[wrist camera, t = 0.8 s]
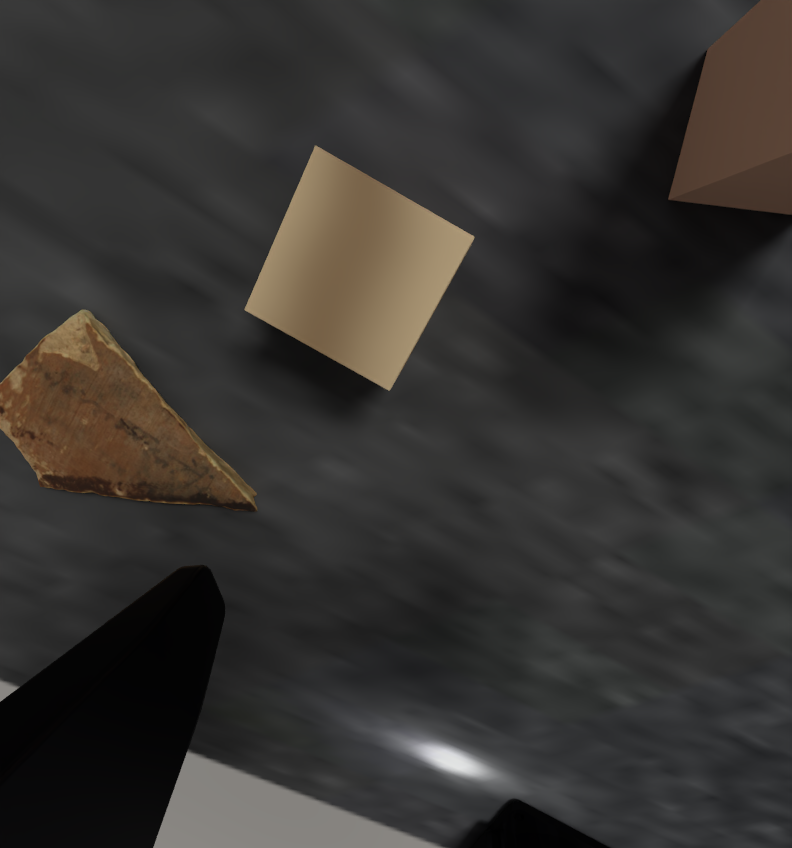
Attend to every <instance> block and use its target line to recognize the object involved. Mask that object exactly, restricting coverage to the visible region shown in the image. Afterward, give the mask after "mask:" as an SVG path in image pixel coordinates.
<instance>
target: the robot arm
mask: <svg viewBox="0 0 792 848" xmlns="http://www.w3.org/2000/svg"><path fill="white" fill-rule="evenodd" d="M224 617H225V604H224V600H223V598H222V595H221V593H220V591H219V588H218V586H217V583H216V581H215V579H214V576H213V574H212V572H211V570H210V569H209V568H208V567H207V566H204V565H196V566H184V567H181V568H179V569H177V570H176V571H175V572H173V573H172V574H170V575H169V576H168V577H166V578H165V579H164V580H162V581H161V582H160V583H158V584H157V585H156V586H154V587H153V588H152V589H150V590H149V591H148V592H146V593H145V594H144V595H142V596H141V597H140V598H138V599H137V600H136V601H134V602H133V603H132V604H130V605H129V606H128V607H126V608H125V609H124V610H122V611H121V612H120V613H118V614H117V615H116V616H114V617H113V618H112V619H110V620H109V621H108V622H106V623H105V624H104V625H102V626H101V627H100V628H98V629H97V630H96V631H94V632H93V633H92V634H90V635H89V636H88V637H86V638H85V639H84V640H82V641H81V642H80V643H78V644H77V645H76V646H74V647H73V648H72V649H70V650H69V651H68V652H66V653H65V654H64V655H62V656H61V657H60V658H58V659H57V660H56V661H54V662H53V663H52V664H50V665H49V666H48V667H46V668H45V669H44V670H42V671H41V672H40V673H38V674H37V675H36V676H34V677H33V678H32V679H30V680H29V681H28V682H26V683H25V684H24V685H22V686H21V687H19V688H18V689H17V690H15V691H14V692H13V693H11V694H10V695H9V696H7V697H6V698H5V699H3V700H2V701H1V702H0V848H153V846H154V843H155V841H156V838H157V835H158V832H159V829H160V826H161V823H162V821H163V817H164V815H165V812H166V809H167V807H168V804H169V801H170V798H171V795H172V793H173V790H174V787H175V784H176V781H177V778H178V776H179V773H180V770H181V767H182V764H183V761H184V758H185V756H186V753H187V750H188V747H189V745H190V742H191V739H192V736H193V733H194V730H195V727H196V724H197V721H198V718H199V715H200V712H201V709H202V705H203V701H204V698H205V694H206V690H207V686H208V682H209V678H210V674H211V670H212V666H213V662H214V658H215V654H216V650H217V646H218V642H219V638H220V634H221V629H222V625H223V621H224ZM471 848H608V847H606V846H604V845H602V844H600V843H598V842H596V841H594V840H593V839H591V838H589V837H587V836H585V835H583V834H581V833H579V832H577V831H576V830H574V829H572V828H570V827H568V826H566V825H564V824H562V823H560V822H559V821H557V820H555V819H553V818H551V817H549V816H547V815H545V814H543V813H542V812H540V811H538V810H536V809H534V808H532V807H530V806H528V805H526V804H525V803H522V802H512V803H511V804H509V806H508V807H507V808H506V809H505V810H504V811H503V812H502V813H501V815H500V816H499V817H498V818H497V819H496V820H495V821H494V823H493V824H492V825H491V826H490V827H489V828H488V829H487V831H486V832H485V833H484V834H483V835H482V836H481V837H480V838H479V839H478V841H477V842H476V843H475V844H474V845H473V846H472V847H471Z"/></svg>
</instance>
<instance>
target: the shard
mask: <svg viewBox="0 0 792 848" xmlns="http://www.w3.org/2000/svg"><path fill="white" fill-rule="evenodd" d="M0 429H1V430H2V431H4V433H5V434H6V435H7V436H8V437H9V438H10V439H11V440H12V441H13V442H14V443H15V445H16V447H17V448H18V449H19V450H20V451H21V453H22V454H23V456H24V458H25V459H26V460H27V461H28V462H29V463H30V465H31V467H32V469H33V470H34V471H35V472H36V473H37V477H38V481H39V484H40V487H46V488H53V489H57V490H60V489H64V490H67V491H70V492H79V493H87V492H94V493H97V494H99V495H102V496H111V497H121V498H127V499H132V500H138V501H151V502H162V503H175V504H206V505H214V506H220V507H226V508H229V509H233V510H246V511H253V512H254V511H257V507H256V505H255V501H254V498H253V497H254V496H256V495H257V493H256V492H255V491H254V490H253V489H252V488H251V487H250V486H248V485H247V484H246V483H245V482H244V480H243V479H242V478H241V477H240V476H239V475H238V474H237V473H236V472H235V471H234V470H233V469H232V468H231V467H230V466H229V465H228V464H227V463H226V462H225V461H224V460H222V459H221V458H220V457H219V456H217V455H216V454H215V453H214V451H212V450H211V449H210V448H209V447H208V446H207V445H206V444H205V443H204V442H203V441H202V440H201V439H200V438H199V437H198V436H197V435H196V433H195V432H194V431H193V430H192V429H191V428H190V427H188V426H187V424H186V422H185V421H184V420H183V419H182V418H181V417H180V416H179V415H178V414H177V413H176V412H175V411H174V410H173V409H172V408H171V407H170V406H169V405H168V404H167V403H166V402H165V401H164V399H163V398H162V397H161V395H160V394H159V393H158V392H157V391H156V389H155V388H154V387H153V386H152V385H151V383H150V382H149V381H148V380H147V379H146V378H145V377H144V376H143V375H142V373H141V372H140V371H139V369H138V368H137V366H136V364H135V362H134V361H133V360H132V358H131V357H130V356H129V355H128V354H127V353H126V352H125V351H124V350H123V349H122V348H121V347H120V346H119V344H118V343H117V342H116V340H115V339H114V338H113V337H112V335H111V334H110V332H109V330H108V329H107V328H106V327H105V326H104V325H103V324H102V323H101V322H99V321H98V320H96V319H95V317H94V316H93V315H92V313H91V312H90V311H88V310H80V311H79V312H78V313H77V314H75V315H73V316H72V317H70V318H69V319H68V320H67V321H65V322H64V324H63V325H61V326H59V327H58V328H57V329H56V330H55V331H53V332H52V333H50V334H48V335H46V336H45V337H44V338H43V339H42V340H41V341H40V342H39V344H38V345H37V346H36V347H35V348H34V349H33V350H32V351H31V352H30V353H29V354H28V355H27V356H26V357H25V358H24V361H23V362H22V363H21V364H19V365H18V366H16V368H15V369H14V370H13V371H12V372H11V373H10V374H9V375H8V376H7V377H6V378H5V379H4V381H3V382H1V383H0Z"/></svg>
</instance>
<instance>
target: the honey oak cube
mask: <svg viewBox="0 0 792 848" xmlns="http://www.w3.org/2000/svg"><path fill="white" fill-rule="evenodd" d="M473 240H474V236H472V235H470V234H469V233H467V232H465V231H463V230H462V229H460V228H458V227H456V226H455V225H453V224H451V223H449V222H448V221H446V220H444V219H442V218H441V217H439V216H437V215H436V214H434V213H432V212H430V211H429V210H427V209H425V208H423V207H422V206H420V205H418V204H416V203H415V202H413V201H411V200H409V199H408V198H406V197H404V196H402V195H401V194H399V193H397V192H396V191H394V190H392V189H390V188H389V187H387V186H385V185H383V184H382V183H380V182H378V181H376V180H375V179H373V178H371V177H369V176H368V175H366V174H364V173H363V172H361V171H359V170H357V169H356V168H354V167H352V166H350V165H349V164H347V163H345V162H343V161H342V160H340V159H338V158H336V157H335V156H333V155H331V154H330V153H328V152H326V151H324V150H323V149H321V148H319V147H317V146H315V148H314V150H313V153H312V155H311V157H310V159H309V162H308V164H307V166H306V169H305V171H304V173H303V176H302V178H301V180H300V183H299V185H298V187H297V190H296V192H295V194H294V196H293V199H292V201H291V203H290V206H289V208H288V210H287V213H286V215H285V217H284V220H283V222H282V224H281V227H280V229H279V231H278V233H277V236H276V238H275V240H274V243H273V245H272V247H271V250H270V252H269V254H268V257H267V259H266V261H265V264H264V266H263V268H262V271H261V273H260V275H259V277H258V280H257V282H256V284H255V287H254V289H253V291H252V294H251V296H250V298H249V301H248V303H247V305H246V308H245V311H247V312H249V313H251V314H253V315H254V316H256V317H258V318H260V319H261V320H263V321H265V322H267V323H269V324H270V325H272V326H274V327H276V328H278V329H279V330H281V331H283V332H285V333H287V334H288V335H290V336H292V337H294V338H296V339H297V340H299V341H301V342H303V343H304V344H306V345H308V346H310V347H312V348H313V349H315V350H317V351H319V352H321V353H322V354H324V355H326V356H328V357H330V358H331V359H333V360H335V361H337V362H338V363H340V364H342V365H344V366H346V367H347V368H349V369H351V370H353V371H355V372H356V373H358V374H360V375H362V376H364V377H365V378H367V379H369V380H371V381H373V382H374V383H376V384H378V385H380V386H381V387H383V388H385V389H387V390H389V391H390V389H391V388H392V386H393V384H394V382H395V381H396V379H397V377H398V376H399V374H400V372H401V371H402V369H403V367H404V365H405V364H406V362H407V360H408V358H409V356H410V355H411V353H412V351H413V349H414V347H415V346H416V344H417V342H418V340H419V338H420V337H421V335H422V333H423V331H424V329H425V328H426V326H427V324H428V322H429V320H430V319H431V317H432V315H433V313H434V311H435V310H436V308H437V306H438V304H439V302H440V301H441V299H442V297H443V295H444V293H445V291H446V290H447V288H448V286H449V284H450V282H451V281H452V279H453V277H454V275H455V273H456V272H457V270H458V268H459V266H460V264H461V263H462V261H463V259H464V257H465V255H466V254H467V252H468V250H469V248H470V246H471V244H472V242H473Z"/></svg>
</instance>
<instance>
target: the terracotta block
mask: <svg viewBox="0 0 792 848" xmlns="http://www.w3.org/2000/svg"><path fill="white" fill-rule="evenodd" d="M668 200H674V201H682V202H690V203H699V204H707V205H715V206H723V207H731V208H740V209H748V210H756V211H764V212H772V213H781V214H789V215H792V0H761V1H760V2H759V3H758V4H756V5H755V6H754V7H753V8H752V9H751V10H750V11H749V12H748V13H747V14H746V15H744V16H743V17H742V18H741V19H740V20H739V21H738V22H737V23H736V24H735V25H734V26H732V27H731V28H730V29H729V30H728V31H727V32H726V33H725V34H724V35H723V36H722V37H720V38H719V39H718V40H717V41H716V42H715V43H714V44H713V45H712V46H711V47H709V48H708V50H707V54H706V58H705V61H704V65H703V69H702V73H701V77H700V80H699V84H698V88H697V92H696V96H695V99H694V103H693V107H692V111H691V115H690V118H689V122H688V126H687V130H686V134H685V137H684V141H683V145H682V149H681V153H680V156H679V160H678V164H677V168H676V172H675V175H674V179H673V183H672V187H671V191H670V194H669V198H668Z"/></svg>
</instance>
